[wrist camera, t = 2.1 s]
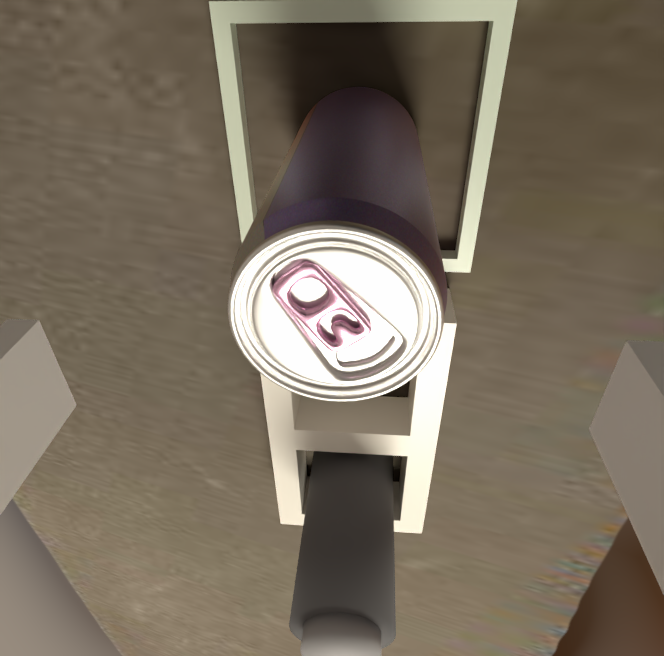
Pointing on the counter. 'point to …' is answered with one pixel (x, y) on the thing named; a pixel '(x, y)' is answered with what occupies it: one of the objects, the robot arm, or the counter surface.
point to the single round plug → (346, 558)
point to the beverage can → (343, 257)
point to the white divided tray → (362, 435)
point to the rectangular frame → (367, 6)
